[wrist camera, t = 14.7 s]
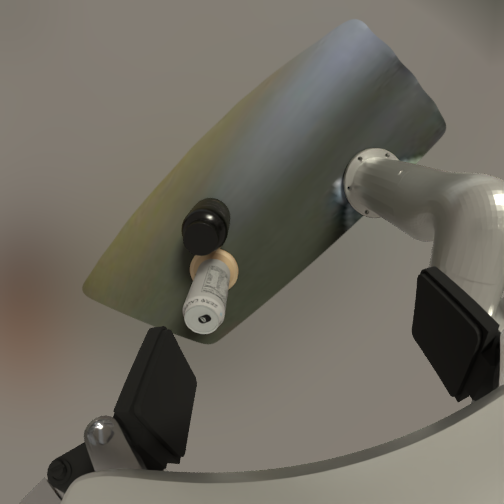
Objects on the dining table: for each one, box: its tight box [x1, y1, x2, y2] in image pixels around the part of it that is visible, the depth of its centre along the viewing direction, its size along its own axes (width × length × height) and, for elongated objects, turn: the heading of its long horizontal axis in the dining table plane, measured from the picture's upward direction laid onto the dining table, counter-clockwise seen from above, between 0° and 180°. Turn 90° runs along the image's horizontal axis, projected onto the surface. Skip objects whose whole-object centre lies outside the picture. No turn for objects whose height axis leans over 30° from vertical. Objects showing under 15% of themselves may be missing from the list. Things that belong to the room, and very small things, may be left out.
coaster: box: [190, 249, 238, 289], centre depth 51 cm, size 9×9×1 cm
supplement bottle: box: [182, 198, 230, 256], centre depth 41 cm, size 7×7×12 cm
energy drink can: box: [183, 259, 230, 334], centre depth 43 cm, size 6×6×15 cm
